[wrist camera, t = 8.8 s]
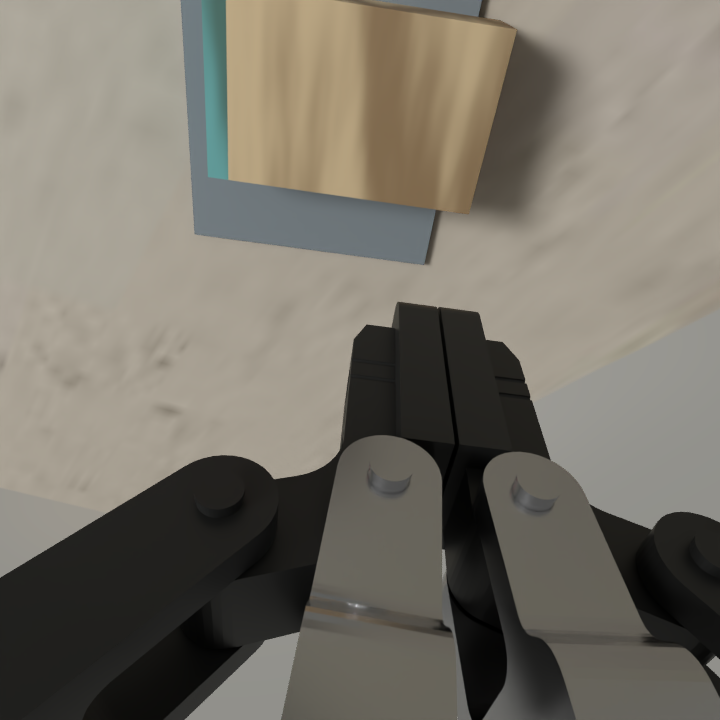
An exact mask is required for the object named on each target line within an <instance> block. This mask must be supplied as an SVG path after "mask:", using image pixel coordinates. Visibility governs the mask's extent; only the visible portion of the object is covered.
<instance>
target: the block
mask: <svg viewBox="0 0 720 720" xmlns="http://www.w3.org/2000/svg"><path fill="white" fill-rule="evenodd" d="M201 2H202V29H203V57H204V84H205V111H206V138H207V166H208V177H211V178H218V179H225V180H232V181H239V182H246V183H253V184H260V185H267V186H274V187H281V188H288V189H295V190H302V191H309V192H316V193H323V194H330V195H337V196H344V197H351V198H358V199H365V200H372V201H379V202H386V203H393V204H400V205H407V206H414V207H421V208H428V209H435V210H442V211H449V212H456V213H463V214H469V211H470V208H471V204H472V200H473V196H474V192H475V188H476V185H477V181H478V177H479V173H480V169H481V166H482V162H483V158H484V154H485V150H486V147H487V143H488V139H489V135H490V131H491V127H492V124H493V120H494V116H495V112H496V108H497V105H498V101H499V97H500V93H501V89H502V85H503V82H504V78H505V74H506V70H507V66H508V63H509V59H510V55H511V51H512V47H513V44H514V40H515V36H516V32H517V29H515V28H513V27H512V26H510V25H508V24H506V23H504V22H502V21H501V20H495V19H488V18H482V17H476V16H470V15H463V14H457V13H451V12H445V11H438V10H432V9H426V8H420V7H414V6H407V5H401V4H395V3H389V2H382V1H376V0H201Z"/></svg>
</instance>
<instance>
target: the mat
mask: <svg viewBox="0 0 720 720" xmlns="http://www.w3.org/2000/svg"><path fill="white" fill-rule="evenodd" d="M376 1H382V2H389V3H395V4H401V5H407V6H414V7H420V8H426V9H432V10H438V11H445V12H451V13H457V14H463V15H470V16H476V17H478V16H479V11H480V6H481V2H482V0H376ZM181 13H182V29H183V46H184V63H185V80H186V97H187V113H188V130H189V147H190V164H191V181H192V197H193V214H194V231H195V234H197V235H204V236H212V237H219V238H227V239H234V240H242V241H249V242H257V243H264V244H272V245H279V246H287V247H294V248H302V249H309V250H317V251H324V252H332V253H339V254H346V255H354V256H361V257H369V258H376V259H384V260H391V261H399V262H406V263H414V264H421V265H424V262H425V258H426V253H427V249H428V244H429V240H430V235H431V230H432V226H433V221H434V217H435V212H436V210H435V209H428V208H421V207H414V206H407V205H400V204H393V203H386V202H379V201H372V200H365V199H358V198H351V197H344V196H337V195H330V194H323V193H316V192H309V191H302V190H295V189H288V188H281V187H274V186H267V185H260V184H253V183H246V182H239V181H232V180H225V179H218V178H211V177H208V166H207V138H206V111H205V84H204V57H203V29H202V2H201V0H181Z"/></svg>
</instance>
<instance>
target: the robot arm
mask: <svg viewBox="0 0 720 720" xmlns="http://www.w3.org/2000/svg"><path fill="white" fill-rule="evenodd" d="M442 549H445V556H446V568H447V569H446V572H445V574H444V577H443V579H442ZM296 632H300V634H299V638H298V643H297V648H296V652H295V657H294V662H293V666H292V671H291V676H290V681H289V685H288V690H287V694H286V699H285V704H284V708H283V714H282V718H281V720H457V716H458V720H720V678H719V677H718V676H717V675H716V674H715V673H714V672H713V671H712V670H711V669H710V668H709V667H708V666H706V664H707V663H708V662H710V661H711V660H712V659H713V658H714V657H715V656H717V657H718V658H719V659H720V523H719V522H717V521H715V520H713V519H711V518H708V517H705V516H702V515H698V514H694V513H689V512H674V513H671V514H667V515H665V516H663V517H662V518H661V519H660V520H659V521H658V522H657V523H656V525H655V526H654V528H653V529H652V530H651V529H648V528H645V527H643V526H640V525H638V524H635V523H632V522H630V521H627V520H625V519H622V518H619V517H616V516H614V515H611V514H609V513H606V512H604V511H602V510H600V509H597V508H595V507H594V506H592V505H590V504H589V502H588V500H587V497H586V495H585V493H584V491H583V489H582V488H581V486H580V485H579V483H578V482H577V481H576V479H574V477H573V476H572V475H571V474H570V473H569V472H567V471H566V470H565V469H564V468H562V467H561V466H559V465H558V464H556V463H555V462H553V461H551V460H550V457H549V453H548V450H547V447H546V444H545V441H544V438H543V435H542V431H541V428H540V425H539V422H538V419H537V415H536V412H535V409H534V406H533V403H532V400H530V393H529V390H528V387H527V384H525V377H524V374H523V371H522V368H521V365H520V362H519V360H518V359H517V357H516V356H515V355H514V354H513V353H512V352H511V351H510V350H509V349H508V347H507V346H506V345H505V344H504V343H503V342H498V341H490V340H486V339H485V335H484V331H483V327H482V323H481V319H480V315H479V313H478V312H472V311H465V310H457V309H450V308H442V307H439V308H438V309H437V307H434V306H426V305H418V304H411V303H403V302H397V305H396V308H395V313H394V318H393V323H392V328H389V327H382V326H374V325H366V326H365V327H364V328H363V329H362V331H361V332H360V333H359V334H358V335H357V336H356V337H355V339H354V342H353V349H352V356H351V363H350V370H349V377H348V384H347V391H346V398H345V406H344V416H343V425H342V435H341V444H340V451H339V452H338V454H337V455H336V457H334V458H333V459H332V460H331V461H330V462H329V463H328V464H326V465H325V466H324V467H322V468H320V469H318V470H316V471H313V472H310V473H308V474H304V475H299V476H293V477H287V478H280V479H273V478H272V476H271V475H270V473H269V472H268V471H267V470H266V469H265V468H263V467H262V466H260V465H259V464H257V463H255V462H253V461H251V460H249V459H246V458H242V457H237V456H227V455H221V456H212V457H207V458H203V459H200V460H197V461H195V462H192V463H190V464H188V465H187V466H185V467H183V468H181V469H180V470H178V471H176V472H175V473H173V474H171V475H170V476H168V477H166V478H165V479H163V480H161V481H160V482H158V483H157V484H155V485H153V486H152V487H150V488H148V489H147V490H145V491H143V492H142V493H140V494H138V495H137V496H135V497H133V498H132V499H130V500H128V501H127V502H125V503H123V504H122V505H120V506H118V507H117V508H115V509H113V510H112V511H110V512H108V513H107V514H105V515H104V516H102V517H100V518H99V519H97V520H95V521H94V522H92V523H90V524H89V525H87V526H85V527H84V528H82V529H80V530H79V531H77V532H75V533H74V534H72V535H70V536H69V537H67V538H65V539H64V540H62V541H60V542H59V543H57V544H55V545H54V546H52V547H50V548H49V549H47V550H46V551H44V552H42V553H41V554H39V555H37V556H36V557H34V558H32V559H31V560H29V561H27V562H26V563H24V564H22V565H21V566H19V567H17V568H16V569H14V570H12V571H11V572H9V573H7V574H6V575H4V576H3V577H1V578H0V720H184V719H185V718H187V717H188V716H189V715H190V714H191V713H192V712H193V711H194V710H195V709H196V708H197V707H198V706H199V705H200V704H201V703H202V702H203V701H204V700H205V699H206V698H207V697H208V696H210V695H211V694H212V693H213V692H214V691H215V690H216V689H217V688H218V687H219V686H220V685H221V684H222V683H223V682H224V681H225V680H226V679H227V678H228V677H229V676H230V675H232V674H233V673H234V672H235V671H236V670H237V669H238V668H239V667H240V666H241V665H242V664H243V663H244V662H245V661H246V660H247V659H248V658H249V657H250V656H251V655H252V654H253V653H254V652H256V650H257V649H258V648H259V647H260V646H261V645H262V644H263V642H264V641H265V640H267V639H272V638H276V637H280V636H284V635H288V634H292V633H296Z"/></svg>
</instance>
